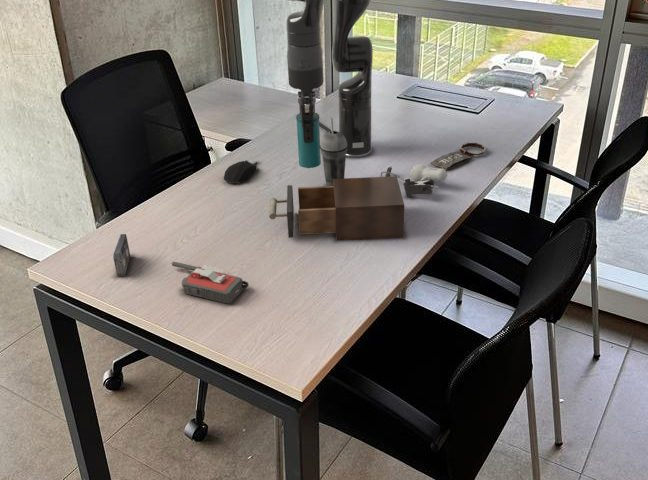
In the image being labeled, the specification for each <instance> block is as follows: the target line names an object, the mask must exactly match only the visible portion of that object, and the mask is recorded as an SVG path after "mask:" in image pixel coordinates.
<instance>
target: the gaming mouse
mask: <svg viewBox="0 0 648 480" xmlns="http://www.w3.org/2000/svg"><path fill="white" fill-rule="evenodd" d="M256 164H258V162H257V161H256V162H254V163H251V162H250V161H249V160H242V161H238V162H235V163H233V164H231V165H230V166H228V167H227V169H226V170H225V171H224V175H223V180H224V181H225V182H226V183H229V184H242V183H244V182H246V181H248V179H250V178H251V177H252V176H253V175H254V174H255V173H256V172H257V166H256Z"/></svg>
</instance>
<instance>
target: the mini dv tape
mask: <svg viewBox="0 0 648 480" xmlns="http://www.w3.org/2000/svg"><path fill="white" fill-rule="evenodd" d="M119 234H120V235H119V238H118V240H117V243H116V245H115V249H114V252H113V255H112V256H113V262H114V268H115V272H116V276H117V277H125V275H126V272H127V270H128V266H129V263H130V260H131V251H130V247H129V241H128V237H127V234H126V233H122V234H121V233H119Z"/></svg>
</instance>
